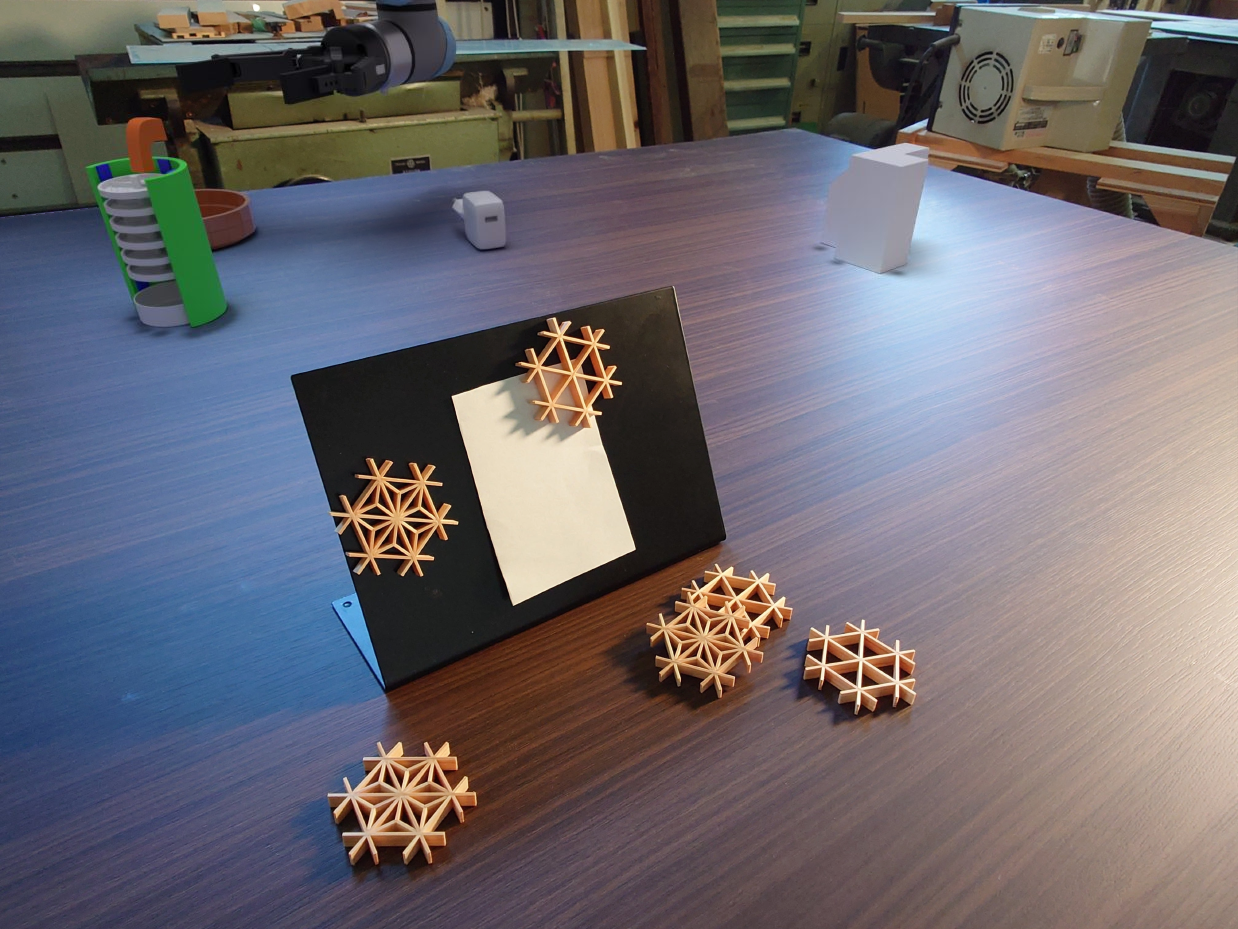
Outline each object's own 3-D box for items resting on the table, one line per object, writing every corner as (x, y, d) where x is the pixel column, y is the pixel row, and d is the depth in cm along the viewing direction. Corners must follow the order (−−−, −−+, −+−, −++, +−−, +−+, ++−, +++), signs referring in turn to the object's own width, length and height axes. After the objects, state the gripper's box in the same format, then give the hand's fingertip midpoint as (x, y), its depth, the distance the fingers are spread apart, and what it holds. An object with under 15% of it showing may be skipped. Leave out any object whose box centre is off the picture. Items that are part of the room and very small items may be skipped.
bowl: (106, 245, 98) (95, 212, 96) (199, 214, 109) (190, 183, 107) (194, 262, 94) (184, 228, 91) (281, 228, 105) (274, 197, 102)
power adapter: (448, 227, 106) (443, 181, 103) (484, 222, 108) (480, 177, 105) (474, 253, 98) (470, 204, 94) (512, 247, 99) (509, 199, 96)
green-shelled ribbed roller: (114, 321, 80) (44, 127, 70) (170, 291, 86) (114, 110, 76) (195, 331, 78) (135, 134, 68) (245, 300, 84) (198, 116, 74)
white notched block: (879, 273, 94) (901, 166, 87) (803, 247, 101) (818, 147, 94) (931, 254, 100) (955, 153, 93) (855, 231, 107) (873, 135, 100)
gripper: (456, 100, 96) (338, 135, 79) (290, 85, 104) (152, 113, 87) (449, 28, 92) (323, 50, 75) (276, 18, 100) (129, 35, 83)
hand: (231, 84), depth 81 cm, fingers open, 13 cm apart
